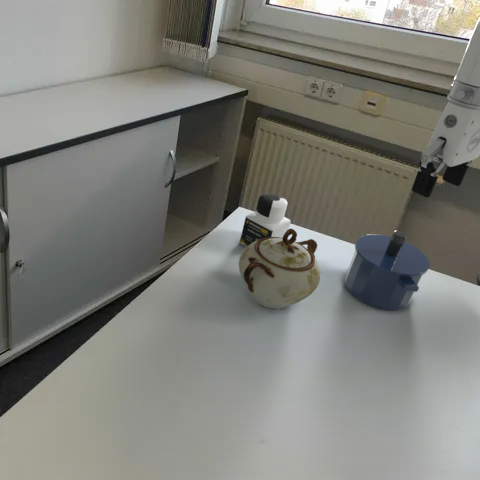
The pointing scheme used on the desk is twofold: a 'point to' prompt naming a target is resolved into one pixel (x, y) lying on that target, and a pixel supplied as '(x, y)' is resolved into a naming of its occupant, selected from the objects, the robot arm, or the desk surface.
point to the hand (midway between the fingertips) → (435, 188)
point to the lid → (392, 254)
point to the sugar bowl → (280, 270)
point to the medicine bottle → (266, 220)
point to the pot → (379, 285)
